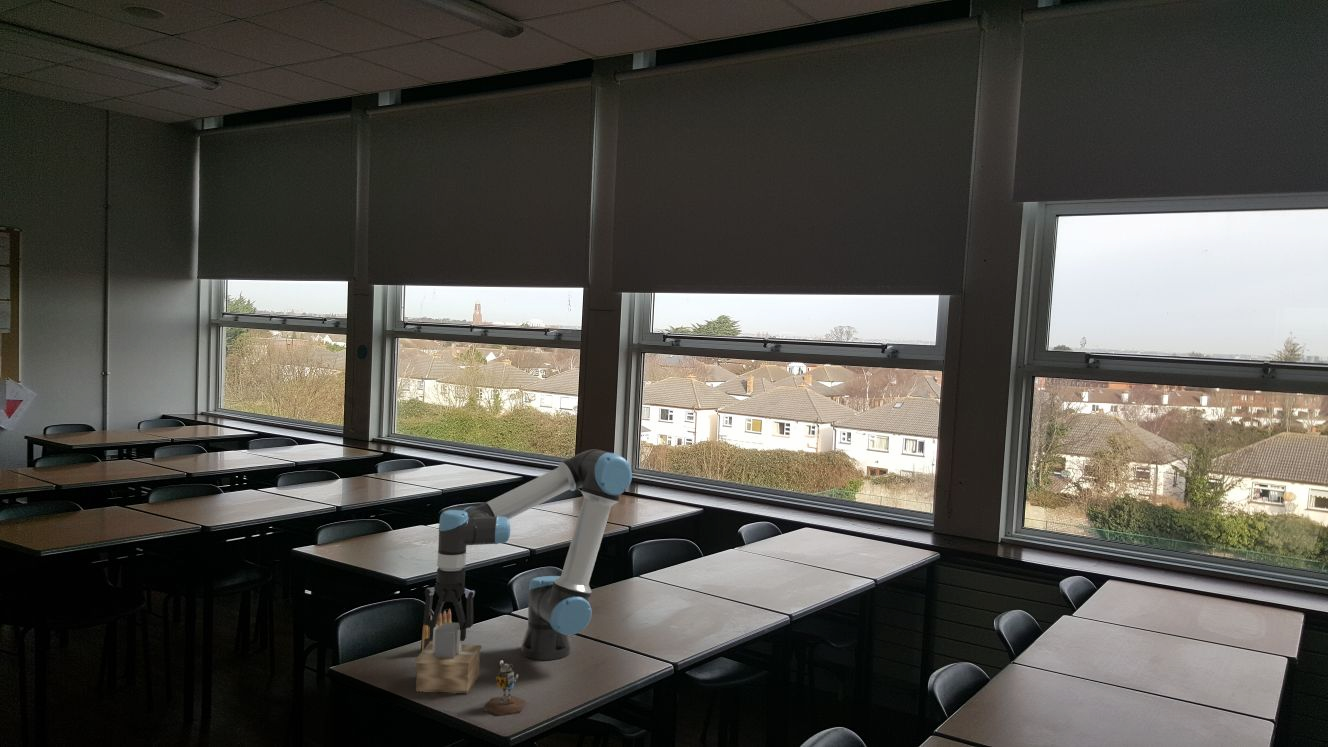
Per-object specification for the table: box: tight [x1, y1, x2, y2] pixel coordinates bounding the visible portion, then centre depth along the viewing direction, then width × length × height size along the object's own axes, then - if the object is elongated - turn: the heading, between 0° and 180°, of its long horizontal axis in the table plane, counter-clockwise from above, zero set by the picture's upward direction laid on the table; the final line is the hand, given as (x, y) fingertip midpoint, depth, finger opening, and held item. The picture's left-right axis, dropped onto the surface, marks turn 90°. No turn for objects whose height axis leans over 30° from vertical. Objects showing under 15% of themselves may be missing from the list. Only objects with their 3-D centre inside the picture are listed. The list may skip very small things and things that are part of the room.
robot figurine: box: [484, 660, 527, 717], centre depth 221 cm, size 11×9×12 cm
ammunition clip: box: [420, 608, 452, 653], centre depth 260 cm, size 11×2×12 cm, turn 143°
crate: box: [415, 650, 481, 694], centre depth 235 cm, size 14×12×8 cm
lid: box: [414, 643, 482, 666], centre depth 234 cm, size 15×13×1 cm
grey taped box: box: [435, 621, 460, 658], centre depth 234 cm, size 5×8×7 cm, turn 178°
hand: (446, 651), depth 234 cm, fingers open, 6 cm apart
